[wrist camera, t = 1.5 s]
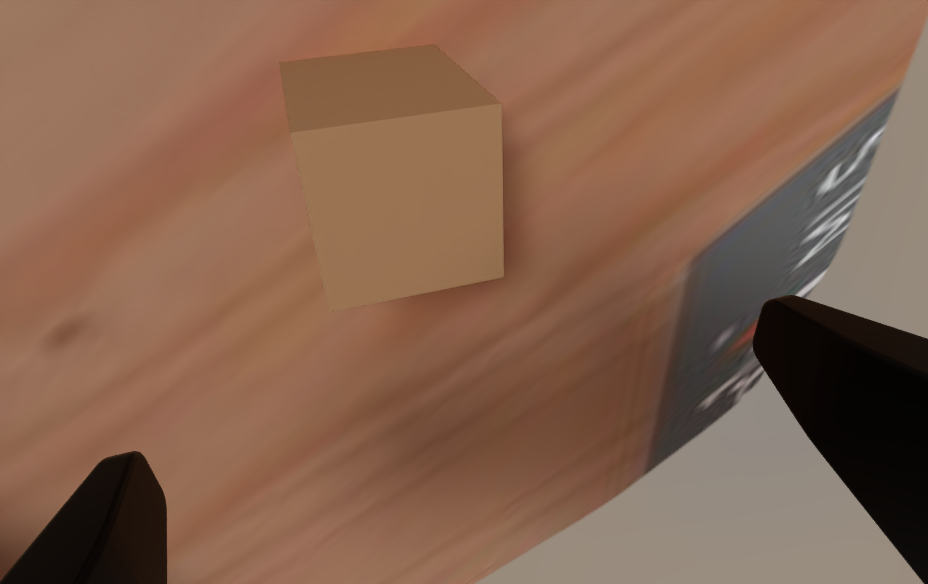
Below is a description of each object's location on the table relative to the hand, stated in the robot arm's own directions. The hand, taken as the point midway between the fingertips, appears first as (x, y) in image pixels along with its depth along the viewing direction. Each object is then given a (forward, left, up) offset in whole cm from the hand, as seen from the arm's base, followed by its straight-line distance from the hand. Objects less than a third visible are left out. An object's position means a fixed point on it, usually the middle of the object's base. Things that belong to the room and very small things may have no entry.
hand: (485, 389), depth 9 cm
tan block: (0, 0, -12) cm, 12 cm away
